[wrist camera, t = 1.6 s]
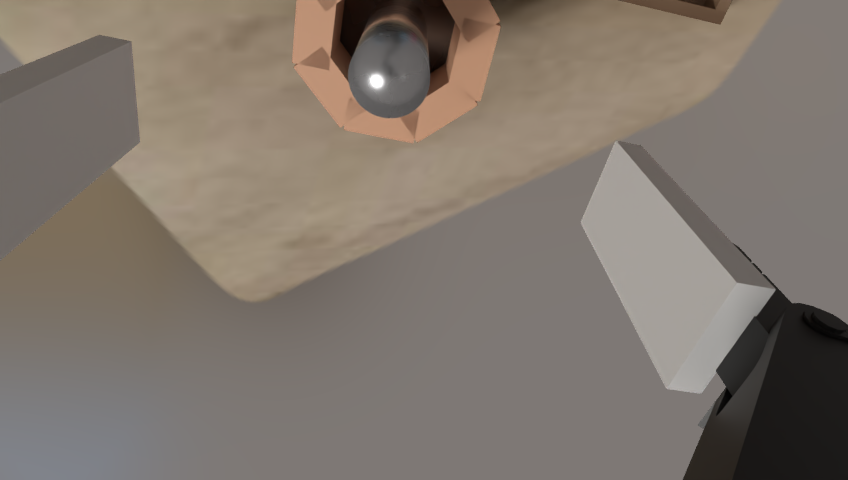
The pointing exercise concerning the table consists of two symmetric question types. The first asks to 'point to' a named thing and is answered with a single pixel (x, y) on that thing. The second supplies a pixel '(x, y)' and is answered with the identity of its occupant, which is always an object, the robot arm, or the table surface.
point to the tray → (690, 8)
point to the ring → (449, 84)
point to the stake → (394, 51)
